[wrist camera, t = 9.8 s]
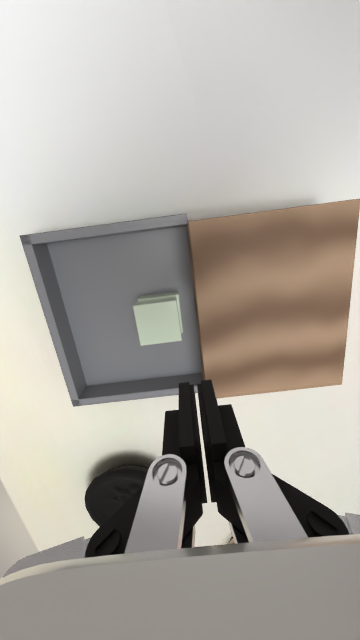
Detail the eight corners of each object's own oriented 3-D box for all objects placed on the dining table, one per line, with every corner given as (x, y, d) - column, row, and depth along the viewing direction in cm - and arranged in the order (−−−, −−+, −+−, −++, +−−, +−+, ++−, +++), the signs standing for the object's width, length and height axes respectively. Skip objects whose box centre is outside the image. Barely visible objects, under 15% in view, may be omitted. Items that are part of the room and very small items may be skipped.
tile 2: (178, 294, 29) (178, 291, 31) (137, 299, 29) (140, 295, 31) (182, 332, 30) (182, 327, 32) (144, 337, 31) (146, 331, 32)
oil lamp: (78, 517, 45) (67, 550, 40) (103, 439, 39) (93, 467, 34) (154, 534, 47) (151, 567, 42) (188, 461, 41) (189, 490, 36)
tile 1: (176, 300, 27) (176, 296, 29) (132, 306, 27) (135, 301, 29) (181, 340, 29) (181, 334, 30) (140, 345, 29) (142, 339, 31)
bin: (40, 236, 29) (19, 235, 25) (185, 217, 29) (186, 213, 25) (84, 389, 36) (73, 406, 32) (202, 375, 36) (205, 391, 32)
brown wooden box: (186, 226, 29) (188, 221, 22) (317, 208, 29) (360, 198, 22) (201, 369, 35) (207, 399, 29) (310, 357, 35) (341, 384, 28)
